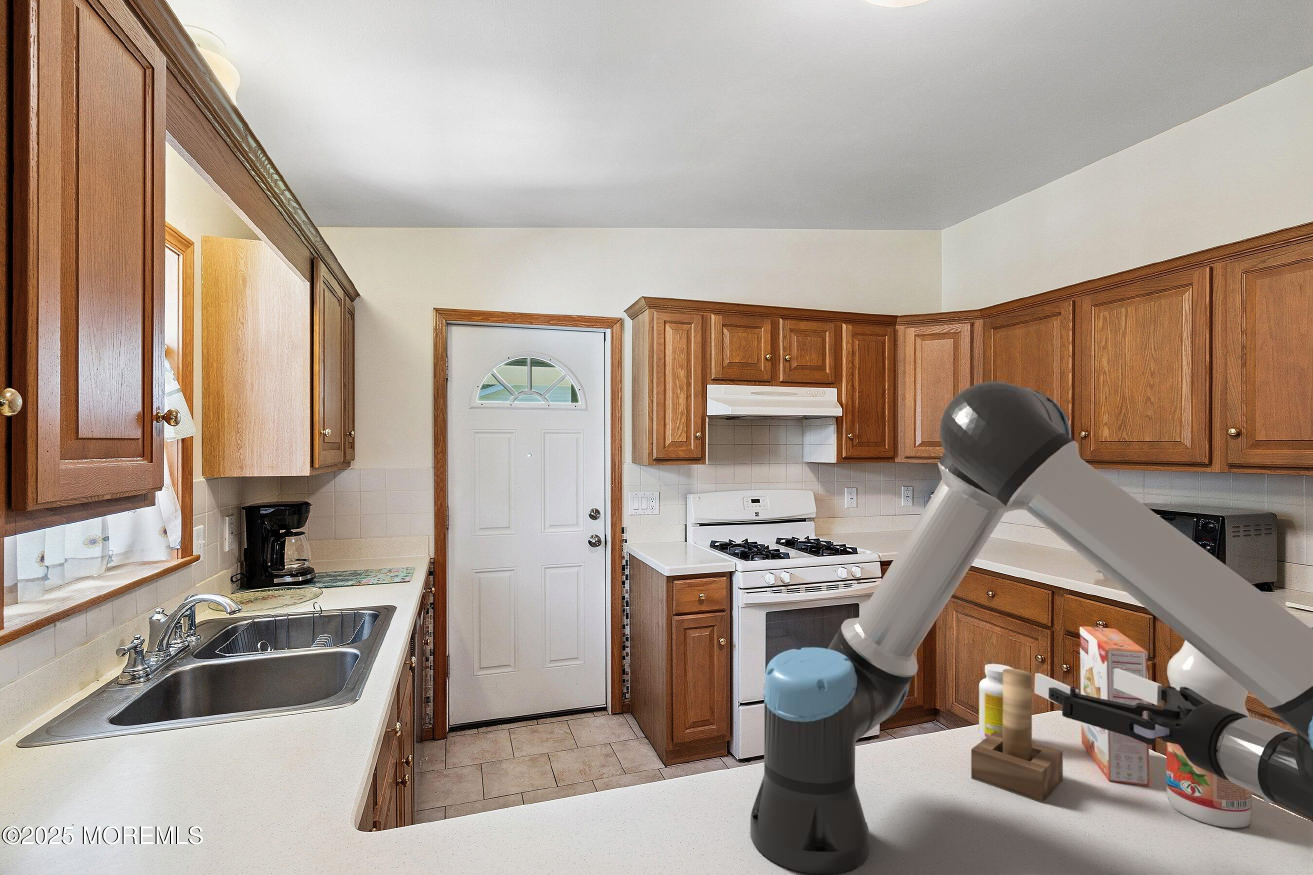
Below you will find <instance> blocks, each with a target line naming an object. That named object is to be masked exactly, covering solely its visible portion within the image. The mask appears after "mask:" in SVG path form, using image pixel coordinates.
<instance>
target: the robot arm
mask: <svg viewBox="0 0 1313 875" xmlns="http://www.w3.org/2000/svg"><path fill="white" fill-rule="evenodd" d="M1071 437H1072V432H1071V426H1070V423H1069V420H1068V418H1067V416H1066V414H1065V412H1064V411H1063V409H1062V408H1061V407H1060V406H1059V405H1058V403H1057V402H1055V401H1054V400H1053V399H1052V398H1051V397H1049V396H1047V395H1045V394H1043V392H1041V391H1038V390H1034V389H1032V388H1029V387H1023V386H1019V385H1017V384H1014V383H1009V382H1006V381H998V380H997V381H984V382H979V383H977V384H973V385H971V386H969V387H967V388H965V389H964V390H962V391H961V392H959V393H958V394H956V395H955V396H954V398H953V399H951V401H950V402H949V403H948V405H947V406H946V408H945V409H944V411H943V413H942V416H941V419H940V425H939V438H940V443H941V446H942V449H943V450H944V452H943V454H942V455H941V457H940V458H939V460H938V462H937V465H938V469H939V471H940V475H941V480H940V483H939V484H938V486H937V487H936V489H935V491H934V492H933V493H932V496H931V497H930V499H929V500H928V502H927V504H926V505H925V507H924V509H923V511H922V512H921V514H920V515H919V517H918V518H917V521H916V522H915V523H914V525H913V527H912V529H911V530H910V532H909V534H908V536H907V537H906V538H905V540H904V542H903V543H902V545H901V547H900V549H899V551H898V552H897V554H896V555H895V557H894V559H893V561H892V562H891V564H890V566H889V567H888V569H887V571H886V572H885V574H884V575H883V578H881V580H880V582H879V584H878V586H877V587H876V588H875V590H874V592H873V593H872V596H871V597H870V599H869V601H868V602H867V604H866V605H865V607H864V609H863V611H862V612H861V614H860V615H859V617H853V618H847V619H845V620H844V621H843V623H842V624H841V626H840V627H839V629H838V630H837V633H836V634H835V636H834V637H833V639H832V641H831V642H830V644H829V645H828V647H827V648H824V647H812V646H811V647H807V646H804V647H801V648H800V649H796V648H792V649H789V650H785V651H782V652H781V653H778V654H776V655H775V656H774V657H772V658H771V659H770V661H769V663H768V664H767V666H766V669H765V677H764V678H765V679H764V683H763V688H762V689H763V690H762V691H763V692H762V693H763V694H762V697H763V700H764V701H763V704H764V705H763V707H764V708H763V711H764V713H763V716H764V718H763V719H764V720H763V722H764V724H763V729H764V732H763V733H764V734H763V735H764V736H763V737H764V741H763V742H764V743H763V745H764V746H763V747H764V748H763V757H764V758H763V761H764V763H763V769H764V771H763V777H762V780H761V782H760V785H759V789H758V792H757V795H756V796H755V800H754V804H753V807H752V809H751V813H750V818H749V819H750V820H749V821H750V822H749V823H750V825H749V826H750V827H749V828H750V829H749V830H750V832H749V834H750V839H751V841H752V843H753V845H754V846H755V848H756V849H757V850H758V851H759V852H760V853H761V854H762V855H763V856H765V858H767V859H768V860H770V861H771V862H773V863H776V864H777V865H779V866H782V867H783V868H786V869H790V870H793V871H795V872H796V871H797V872H800V873H807V874H810V875H811V874H813V875H834V874H835V875H836V874H842V873H847V872H848V871H851V870H854V869H856V868H858V867H859V866H860V865H862V864H863V863H864V862H865V861H866V859H868V856H869V853H870V831H869V830H870V829H869V826H868V822H867V821H866V817H865V813H864V810H863V806H862V803H861V801H860V797H859V793H858V791H857V788H856V742H857V740H860V739H861V738H862V737H864V736H865V734H867V733H868V732H870V731H871V730H873V729H874V728H875V727H877V726H878V725H880V724H881V723H883V722H885V721H887V720H888V719H890V718H891V717H893V716H894V715H895V714H896V713H897V712H899V710H900V709H901V707H902V705H903V704H904V702H905V700H906V698H907V696H908V693H909V688H910V683H911V681H913V678H914V677H915V675H916V674H917V672H918V669H919V665H918V661H917V658H916V655H915V653H916V652H917V650H918V649H919V647H920V646H921V644H922V642H923V641H924V639H925V637H926V636H927V634H928V633H929V631H930V630H931V628H932V627H933V625H934V624H935V622H936V620H937V619H938V617H939V616H940V614H941V613H942V611H943V609H944V608H945V607H946V605H947V604H948V602H949V600H950V599H951V597H952V596H953V594H954V593H955V591H956V589H957V588H958V587H959V585H960V583H961V582H962V580H963V578H964V577H965V576H966V574H967V573H968V571H969V570H970V568H971V566H972V564H974V561H975V560H976V558H977V557H978V556H979V554H980V553H981V551H982V549H983V547H984V546H985V544H986V543H987V541H988V540H989V538H990V537H991V536H992V534H993V533H994V531H995V530H996V528H997V526H998V524H999V523H1000V522H1001V520H1002V518H1003V517H1004V515H1005V514H1006V513H1009V512H1013V511H1018V510H1022V511H1026V512H1027V513H1029V514H1030V515H1031V516H1032V517H1033V518H1035V519H1036V520H1037V521H1038V522H1040V523H1041V524H1042V525H1044V526H1045V527H1046V528H1047V529H1048V530H1050V531H1051V532H1052V533H1053V534H1054V535H1056V536H1057V537H1059V539H1061V541H1063V542H1064V543H1065V544H1067V545H1068V546H1069V547H1071V548H1072V549H1073V550H1075V552H1077V553H1078V554H1079V555H1080V556H1082V557H1083V558H1084V560H1086V561H1087V562H1089V563H1090V564H1091V565H1093V566H1094V567H1095V568H1097V570H1099V571H1100V572H1101V573H1103V574H1104V575H1105V577H1108V579H1110V580H1111V581H1112V582H1113V583H1115V584H1116V585H1117V586H1118V587H1120V588H1121V589H1122V590H1123V591H1125V593H1126V594H1128V595H1130V596H1131V598H1133V599H1134V600H1135V601H1137V602H1138V603H1139V604H1140V605H1142V606H1143V607H1144V608H1145V609H1146V610H1148V611H1149V612H1150V613H1151V614H1153V615H1154V616H1155V617H1156V618H1158V619H1159V620H1160V621H1161V622H1163V624H1165V625H1166V626H1167V627H1169V628H1170V629H1171V630H1172V631H1174V632H1175V633H1176V634H1177V635H1179V636H1180V638H1182V639H1183V640H1184V641H1185V640H1186V641H1187V642H1188V643H1190V644H1191V645H1192V646H1193V647H1194V648H1196V649H1197V650H1198V651H1199V652H1201V653H1202V654H1203V655H1204V656H1206V657H1207V658H1208V659H1209V660H1210V661H1212V662H1213V663H1214V664H1215V665H1217V666H1218V667H1219V668H1220V669H1221V670H1223V671H1224V672H1225V673H1226V674H1228V675H1229V676H1230V677H1231V678H1233V679H1234V680H1235V681H1236V682H1237V683H1239V684H1240V685H1241V686H1242V687H1244V688H1245V689H1246V690H1247V691H1248V693H1249V694H1251V695H1252V696H1254V698H1256V699H1257V700H1258V701H1260V703H1262V704H1263V705H1264V706H1266V708H1268V710H1270V711H1271V712H1273V713H1274V714H1275V715H1276V716H1277V717H1278V718H1279V719H1280V720H1281V721H1283V722H1284V724H1286V725H1287V726H1289V727H1290V728H1291V729H1292V730H1294V731H1295V732H1294V731H1290V730H1288V729H1285V728H1284V727H1280V726H1277V725H1275V724H1272V723H1269V722H1267V721H1264V720H1261V719H1259V718H1256V717H1253V716H1252V717H1251V716H1250V717H1248V716H1246V715H1244V714H1241V713H1239V712H1236V711H1233V710H1231V709H1228V708H1225V707H1223V706H1220V705H1217V704H1213V703H1212V702H1210V701H1209V700H1207V699H1206V698H1204V697H1202V696H1201V695H1199V694H1198V693H1196V692H1195V691H1193V690H1191V689H1190V688H1188V687H1180V690H1177V689H1176V688H1174V687H1172V686H1170V685H1165V686H1163V685H1162V684H1160V683H1158V682H1155V681H1153V680H1150V679H1149V678H1148V679H1145V678H1142V677H1140V676H1137V675H1134V674H1132V673H1129V672H1126V671H1124V670H1121V669H1118V668H1117V669H1114V685H1113V687H1114V688H1116V689H1118V690H1121V691H1123V692H1126V693H1128V694H1131V695H1133V696H1136V697H1138V698H1140V699H1143V700H1145V701H1148V704H1144V703H1136V704H1135V705H1130V704H1125V703H1120V702H1116V701H1111V700H1106V699H1101V698H1097V697H1092V696H1087V695H1083V694H1081V693H1080V690H1079V689H1077V687H1076V686H1070V685H1067V684H1065V683H1063V682H1061V681H1059V680H1056V679H1053V678H1052V677H1049V676H1047V675H1045V674H1042V673H1039V672H1038V673H1037V672H1036V673H1035V674H1034V691H1033V692H1034V694H1035V695H1038V696H1041V697H1042V698H1044V699H1046V700H1048V701H1050V702H1053V703H1055V704H1057V705H1059V706H1061V716H1062V717H1063V718H1067V719H1070V720H1073V721H1076V722H1080V723H1081V722H1083V723H1086V724H1089V725H1093V726H1096V727H1099V728H1102V729H1106V730H1109V731H1112V732H1116V733H1119V734H1122V735H1125V736H1129V737H1131V738H1134V739H1136V740H1139V741H1141V742H1143V743H1146V744H1148V745H1149V746H1155V744H1156V740H1155V739H1156V738H1157V739H1160V740H1162V741H1163V742H1165V743H1166V742H1169V743H1173V744H1179V746H1180V747H1181V748H1182V750H1183V752H1184V753H1185V755H1186V757H1187V758H1188V760H1189V761H1190V762H1191V763H1192V764H1194V765H1195V766H1197V767H1199V768H1201V769H1203V770H1205V771H1208V772H1210V773H1212V774H1214V775H1216V776H1218V777H1220V778H1222V779H1225V780H1230V781H1231V782H1232V783H1234V784H1236V785H1238V786H1240V787H1243V788H1245V789H1247V790H1249V791H1251V792H1252V793H1253V794H1256V795H1258V796H1260V797H1261V798H1262V801H1263V802H1265V803H1267V804H1277V806H1278V805H1279V806H1280V807H1283V808H1285V809H1287V810H1289V811H1291V812H1294V813H1296V814H1298V815H1300V816H1303V817H1304V818H1306V819H1309V820H1310V821H1313V627H1312V626H1311V627H1310V626H1308V625H1307V624H1306V623H1304V622H1303V621H1301V619H1299V618H1297V616H1295V615H1294V614H1292V613H1291V612H1289V611H1288V610H1287V609H1285V608H1284V607H1282V606H1281V605H1280V604H1279V603H1277V602H1276V601H1274V600H1273V599H1272V598H1270V597H1269V596H1268V595H1266V594H1265V593H1264V592H1263V591H1261V590H1260V589H1258V588H1257V587H1256V586H1255V585H1253V584H1251V583H1250V582H1249V581H1248V580H1246V579H1244V578H1243V577H1242V576H1241V575H1240V574H1238V573H1237V572H1236V571H1234V570H1232V569H1231V568H1230V567H1228V566H1227V565H1226V564H1225V563H1223V562H1222V561H1221V560H1219V559H1218V558H1216V557H1215V556H1214V555H1212V554H1211V553H1210V552H1208V551H1207V550H1206V549H1204V548H1203V547H1202V546H1200V545H1199V544H1197V543H1196V542H1195V541H1194V540H1192V539H1191V538H1189V537H1188V536H1186V535H1185V534H1184V533H1182V532H1181V531H1180V530H1179V529H1177V528H1176V527H1174V526H1173V525H1172V524H1171V523H1169V522H1168V521H1166V520H1165V519H1163V518H1162V517H1161V516H1160V515H1158V514H1157V513H1155V512H1154V510H1153V511H1152V509H1150V508H1149V507H1147V506H1146V505H1144V503H1142V502H1140V501H1139V500H1138V499H1137V498H1135V497H1133V495H1131V494H1130V493H1129V492H1127V491H1126V490H1124V489H1123V488H1122V487H1120V486H1119V485H1117V484H1116V483H1115V482H1114V481H1112V480H1111V479H1109V478H1108V477H1107V476H1105V475H1104V474H1103V473H1101V472H1100V471H1099V470H1097V469H1096V468H1095V467H1093V466H1092V465H1090V463H1087V462H1086V461H1085V460H1083V459H1082V457H1081V456H1080V452H1079V451H1080V450H1079V442H1077V441H1075V440H1074V439H1073V438H1071ZM1162 701H1163V702H1162ZM1149 703H1150V704H1149ZM1162 703H1163V706H1162ZM1152 704H1153V705H1152ZM1144 711H1148V715H1147V718H1146V717H1143V712H1144Z"/></svg>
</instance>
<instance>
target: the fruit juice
mask: <svg viewBox="0 0 1313 875" xmlns="http://www.w3.org/2000/svg"><path fill="white" fill-rule="evenodd" d="M1182 644H1183V645H1182V647H1181V648H1180V649H1179V651H1178V652H1176V653H1175V654H1174V655H1173V656H1172V657H1171V659H1169V661H1168V664H1167V666H1166V667H1167V669H1166V674H1167V678H1168V682H1169V686H1172V687H1174V688H1176V689H1177V690H1180V687H1188V688H1190V689H1191V690H1193V691H1195V692H1196V693H1198V694H1199V695H1201V696H1202V697H1204V698H1206V699H1207V700H1209V701H1210V702H1212V703H1213V704H1217V705H1220V706H1223V707H1225V708H1228V709H1231V710H1233V711H1236V712H1239V713H1241V714H1244V715H1246V716H1248V717H1251V716H1250V713H1249V711H1248V709H1247V707H1246V700H1247V697H1248V694H1249V692H1248V691H1247V690H1246V689H1245V688H1244V687H1242V686H1241V685H1240V684H1239V683H1237V682H1236V681H1235V680H1234V679H1233V678H1231V677H1230V676H1229V675H1228V674H1226V673H1225V672H1224V671H1223V670H1221V669H1220V668H1219V667H1218V666H1217V665H1215V664H1214V663H1213V662H1212V661H1210V660H1209V659H1208V658H1207V657H1206V656H1204V655H1203V654H1202V653H1201V652H1199V651H1198V650H1197V649H1196V648H1194V647H1193V646H1192V645H1191V644H1190V643H1188V642H1187V641H1186V640H1185V639H1184V642H1183V643H1182ZM1165 744H1166V746H1165V747H1166V750H1165V751H1166V754H1165V755H1166V760H1165V761H1166V763H1165V764H1166V797H1167V800H1168V803H1169V805H1170V806H1171V807H1172V808H1173V809H1175V810H1176V811H1178V812H1179V813H1181V814H1183V815H1184V816H1186V817H1188V818H1191V819H1193V820H1195V821H1199V822H1202V823H1204V824H1207V825H1211V826H1215V827H1221V828H1228V829H1241V828H1246V827H1248V826H1250V823H1251V821H1252V818H1253V817H1252V816H1253V815H1252V814H1253V794H1252V793H1253V792H1251V791H1249V790H1247V789H1245V788H1243V787H1240V786H1238V785H1236V784H1234V783H1232V782H1231V781H1230V780H1225V779H1222V778H1220V777H1218V776H1216V775H1214V774H1212V773H1210V772H1208V771H1205V770H1203V769H1201V768H1199V767H1197V766H1195V765H1194V764H1192V763H1191V762H1190V761H1189V760H1188V758H1187V757H1186V755H1185V753H1184V752H1183V750H1182V748H1181V747H1180V746H1179V744H1173V743H1169V742H1165Z"/></svg>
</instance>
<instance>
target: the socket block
mask: <svg viewBox="0 0 1313 875" xmlns="http://www.w3.org/2000/svg"><path fill="white" fill-rule="evenodd" d="M970 749H971V750H970V751H971V752H970V753H971V754H970V758H971V759H970V760H971V762H970V766H971V767H970V769H971V770H970V772H971V774H970V778H971V779H973V780H976V781H978V782H981V783H984V784H987V785H989V786H993V787H995V788H999V789H1001V790H1004V791H1007V792H1010V793H1013V794H1015V795H1019V796H1021V797H1025V798H1026V799H1030V800H1033V801H1036V802H1039V803H1041V804H1043V803H1044V802H1045V800H1047V798H1048V797H1049V796H1050V795H1051V794H1052V793H1053V792H1054V791H1055V789H1056V788H1058V786H1059V785H1060V784H1061V783H1062V782H1063V780H1064V779H1063V778H1064V769H1063V768H1064V767H1063V766H1064V765H1063V764H1064V750H1061V749H1059V748H1058V749H1057V748H1054V747H1050V746H1047V745H1043V744H1040V743H1036V742H1034V741H1032V761H1027V760H1024V759H1020V758H1017V757H1014V756H1011V755H1008V754H1004V753H1003V733H999V732H996V731H995V732H993V733H992V734H991V735H989V736H988V737H987V738H985V739H984V740H983V739H982V740H981V741H980V742H979V743H977V744H976V745H975V746H973V747H972V748H970Z"/></svg>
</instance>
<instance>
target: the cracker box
mask: <svg viewBox="0 0 1313 875" xmlns="http://www.w3.org/2000/svg"><path fill="white" fill-rule="evenodd" d="M1079 654H1080V655H1079V658H1080V664H1079V665H1080V694H1083V695H1087V696H1092V697H1097V698H1101V699H1106V700H1111V701H1116V702H1120V703H1125V704H1130V705H1135V704H1136V703H1144V704H1149V702H1148V701H1145V700H1143V699H1140V698H1138V697H1136V696H1133V695H1131V694H1128V693H1126V692H1123V691H1121V690H1118V689H1116V688H1114V687H1113V685H1114V669H1117V668H1118V669H1121V670H1124V671H1126V672H1129V673H1132V674H1134V675H1137V676H1140V677H1142V678H1145V679H1148V680H1149V673H1148V672H1149V665H1148V664H1149V661H1148V660H1149V659H1148V651H1147V650H1145V649H1144V648H1142V647H1141V646H1140V645H1138V644H1137V643H1135V642H1134V641H1133V640H1131V639H1130V638H1129V637H1127V636H1126V635H1124V634H1123V633H1122V632H1120V631H1119V630H1118V629H1116V628H1109V627H1108V628H1107V627H1097V626H1086V625H1085V626H1079ZM1147 715H1148V711H1144V712H1143V717H1146V718H1147ZM1080 723H1081V724H1080V725H1081V730H1080V732H1081V745H1082V746H1083V747H1084V749H1085V750H1086V752H1087V753H1088V754H1089V755H1090V757H1091V758H1092V760H1093V761H1094V762H1095V764H1096V765H1097V766H1098V768H1099V770H1100V771H1101V773H1102V774H1103V775H1104V776H1105V777H1106V780H1107V781H1108V782H1115V783H1123V784H1132V785H1139V786H1146V787H1147V786H1148V787H1150V785H1151V784H1150V745H1148V744H1146V743H1143V742H1141V741H1139V740H1136V739H1134V738H1131V737H1129V736H1125V735H1122V734H1119V733H1116V732H1112V731H1109V730H1106V729H1102V728H1099V727H1096V726H1093V725H1089V724H1086V723H1083V722H1080Z"/></svg>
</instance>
